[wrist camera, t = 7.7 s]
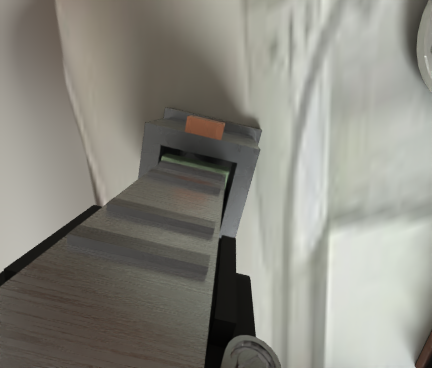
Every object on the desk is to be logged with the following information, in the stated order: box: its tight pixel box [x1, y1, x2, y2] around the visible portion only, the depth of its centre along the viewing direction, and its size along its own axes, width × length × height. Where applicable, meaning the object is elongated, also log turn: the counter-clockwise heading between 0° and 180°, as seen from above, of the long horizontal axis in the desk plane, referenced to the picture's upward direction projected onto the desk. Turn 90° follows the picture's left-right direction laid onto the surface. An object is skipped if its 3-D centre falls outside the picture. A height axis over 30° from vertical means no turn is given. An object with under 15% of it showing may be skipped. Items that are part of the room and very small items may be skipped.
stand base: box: [138, 107, 262, 238], centre depth 21 cm, size 9×9×8 cm
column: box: [0, 153, 229, 368], centre depth 11 cm, size 4×4×14 cm
